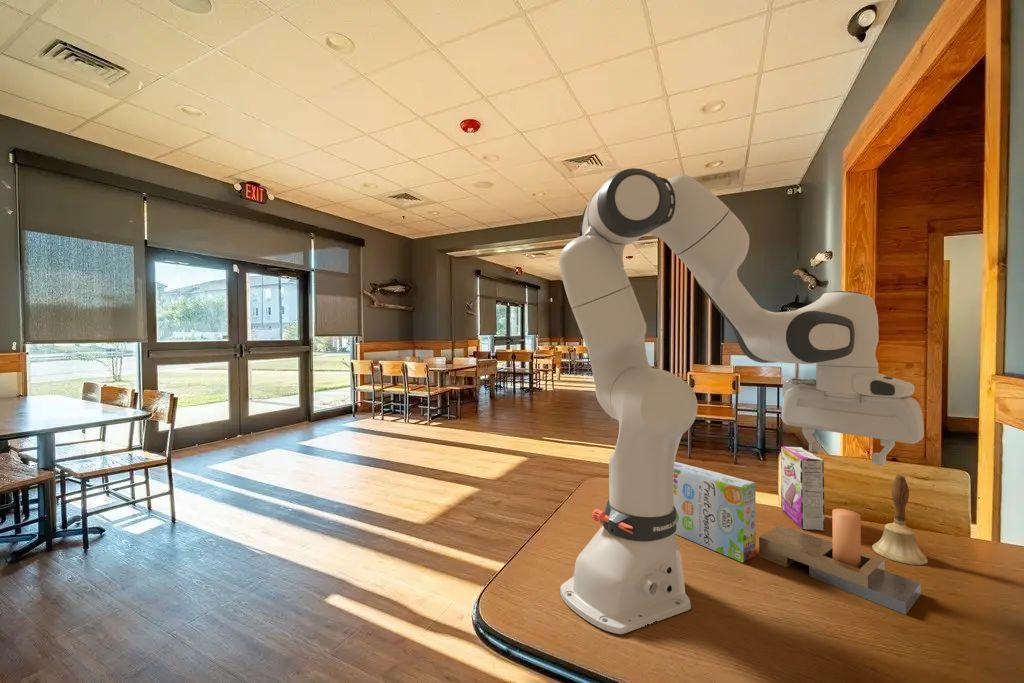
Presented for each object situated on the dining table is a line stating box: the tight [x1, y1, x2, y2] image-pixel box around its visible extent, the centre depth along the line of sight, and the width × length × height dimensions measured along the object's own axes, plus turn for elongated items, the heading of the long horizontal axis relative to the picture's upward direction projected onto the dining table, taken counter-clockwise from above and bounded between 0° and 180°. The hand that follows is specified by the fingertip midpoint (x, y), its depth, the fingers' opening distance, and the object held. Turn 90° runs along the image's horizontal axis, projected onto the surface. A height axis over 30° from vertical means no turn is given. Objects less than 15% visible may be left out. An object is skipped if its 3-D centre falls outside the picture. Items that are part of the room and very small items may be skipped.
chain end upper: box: [758, 524, 886, 588], centre depth 80 cm, size 9×17×4 cm, turn 35°
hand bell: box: [871, 474, 929, 566], centre depth 85 cm, size 8×8×16 cm
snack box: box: [673, 461, 757, 564], centre depth 92 cm, size 21×6×15 cm, turn 34°
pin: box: [831, 508, 862, 568], centre depth 77 cm, size 4×4×12 cm
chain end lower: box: [808, 558, 922, 616], centre depth 75 cm, size 9×13×2 cm
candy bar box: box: [780, 446, 826, 532], centre depth 101 cm, size 11×5×16 cm, turn 168°
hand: (845, 458), depth 76 cm, fingers open, 8 cm apart
